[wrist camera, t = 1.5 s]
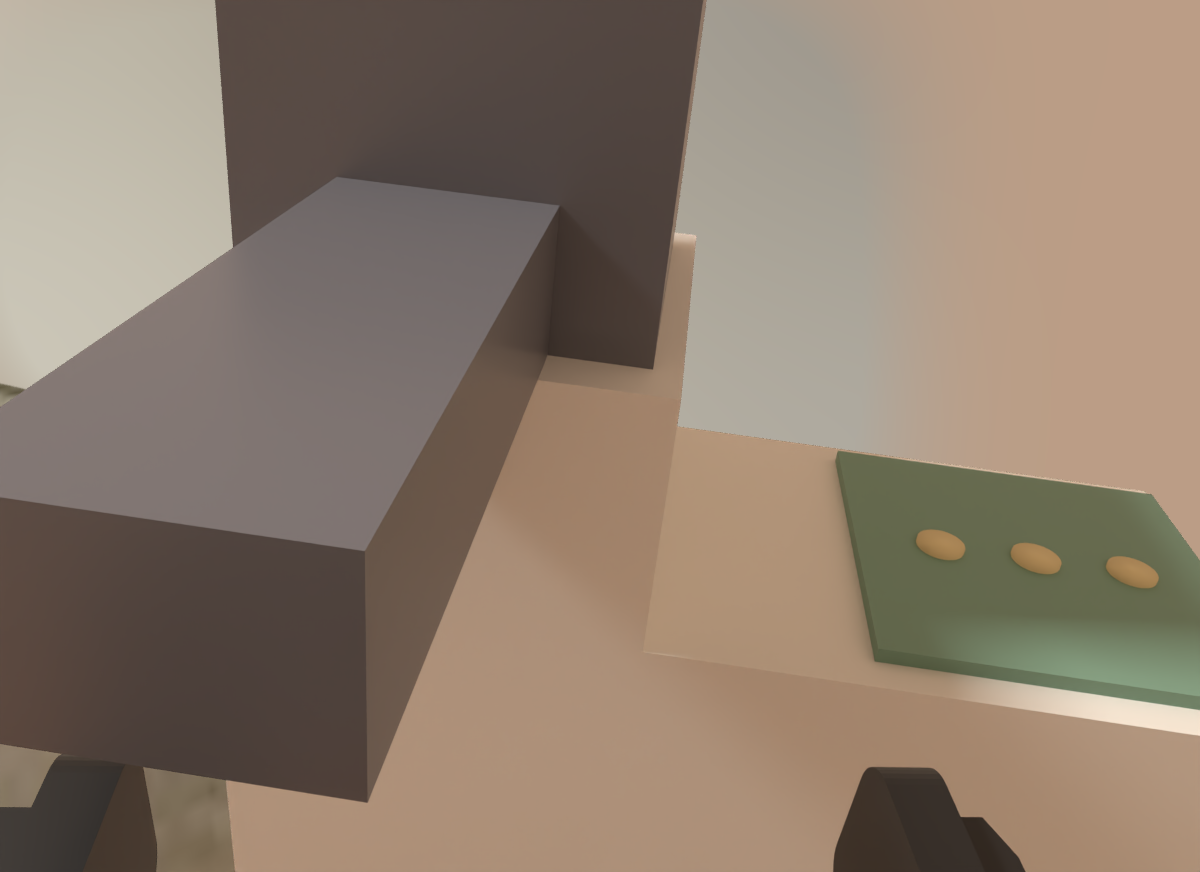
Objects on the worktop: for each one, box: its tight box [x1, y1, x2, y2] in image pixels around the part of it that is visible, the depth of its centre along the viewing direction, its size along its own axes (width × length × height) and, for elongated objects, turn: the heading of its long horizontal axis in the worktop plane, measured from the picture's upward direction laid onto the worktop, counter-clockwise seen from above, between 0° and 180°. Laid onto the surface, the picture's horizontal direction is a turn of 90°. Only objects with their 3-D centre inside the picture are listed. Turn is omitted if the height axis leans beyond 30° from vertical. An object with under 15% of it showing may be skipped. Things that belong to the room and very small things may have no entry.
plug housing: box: [0, 0, 706, 803], centre depth 14 cm, size 7×16×6 cm, turn 174°
